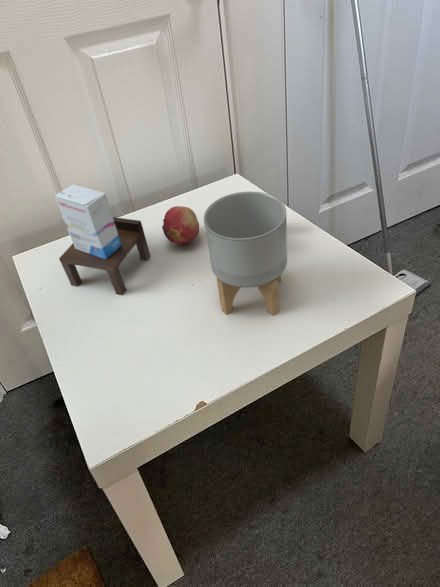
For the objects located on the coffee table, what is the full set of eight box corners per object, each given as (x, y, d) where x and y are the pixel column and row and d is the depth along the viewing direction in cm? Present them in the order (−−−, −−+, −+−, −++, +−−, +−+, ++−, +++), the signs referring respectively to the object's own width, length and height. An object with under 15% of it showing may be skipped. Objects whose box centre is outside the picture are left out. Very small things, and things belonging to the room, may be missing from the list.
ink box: (123, 245, 88) (106, 191, 79) (106, 260, 85) (86, 206, 77) (91, 234, 91) (72, 181, 83) (74, 248, 89) (51, 195, 80)
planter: (302, 295, 82) (304, 212, 70) (247, 332, 77) (238, 250, 65) (255, 262, 90) (249, 182, 78) (203, 294, 86) (187, 214, 73)
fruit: (203, 249, 95) (198, 217, 90) (167, 256, 95) (159, 224, 89) (199, 228, 101) (194, 197, 95) (165, 234, 101) (157, 203, 95)
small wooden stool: (123, 295, 88) (110, 259, 82) (71, 285, 92) (55, 250, 85) (150, 256, 96) (140, 220, 89) (101, 248, 99) (89, 213, 93)
